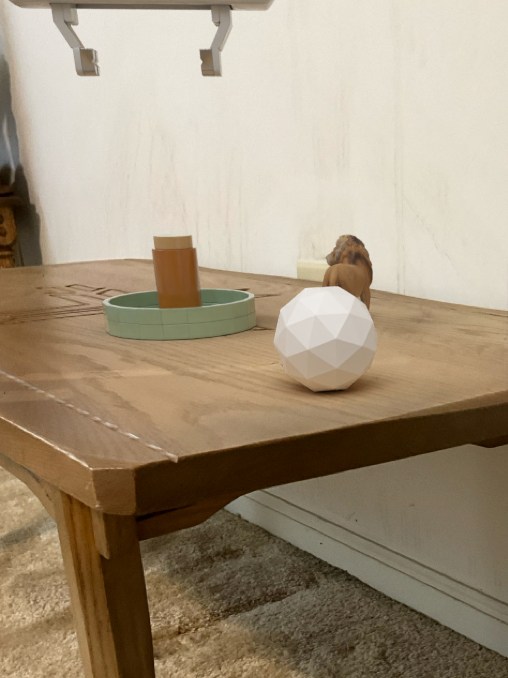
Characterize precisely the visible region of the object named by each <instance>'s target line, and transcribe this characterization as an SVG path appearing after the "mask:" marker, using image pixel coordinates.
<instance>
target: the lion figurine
mask: <svg viewBox="0 0 508 678" xmlns="http://www.w3.org/2000/svg"><path fill="white" fill-rule="evenodd" d="M365 246H366V245H365V243H364V242H363V240H362V239H360V238H358V237H357V236H356V235H353V234H349V233H348V234H342V235H340V236H338V238H337V239H336V241H335V247H333V249H332V251H331V252H330V253H329V254H327V255H326V256H324V257H325V260H326V264H327V265H328V266H329V267H328V268H326V270H325V273H324V275H323V280H322V286H321V287H334V286H339V287H340V288H342V289H343V290H345V291H347V292H348V293H350V294H352V295H353V296H355V297H356V298H359V300H360V301H361V302H363V303H364V304H365V305H366V307H367V309H368V311H369V312H370V307H371V297H372V296H371V295H372V294H371V290H370V289H371V288H370V287H371V286H372V283H373V279H374V270H373V264H372V263H373V262H372V261H371V258H370V253H369V250H368V249H367V248H366V247H365Z"/></svg>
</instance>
